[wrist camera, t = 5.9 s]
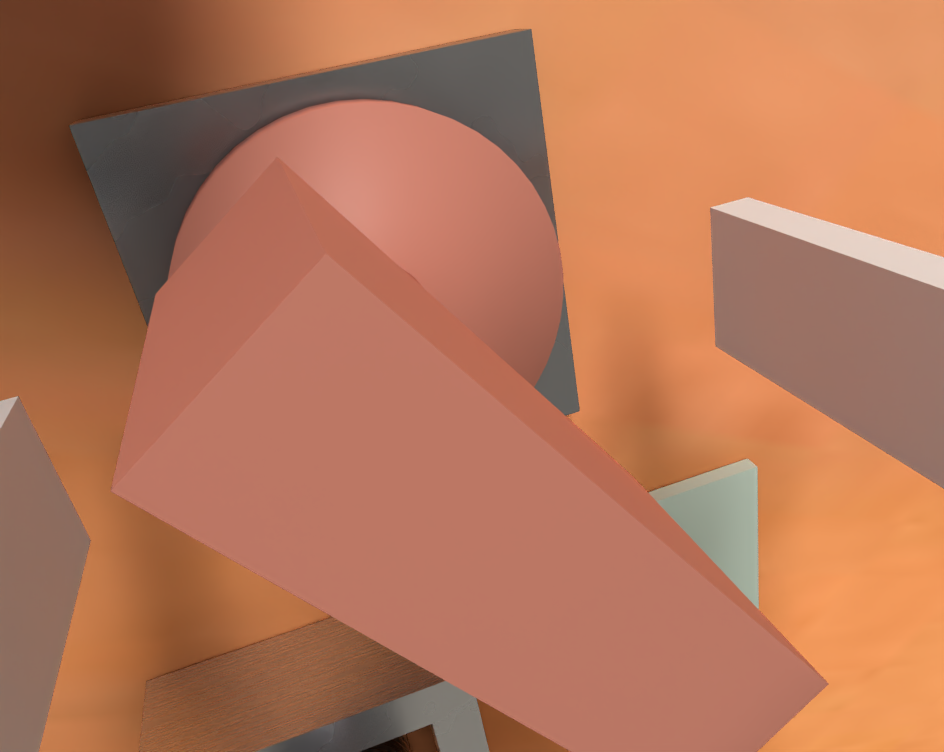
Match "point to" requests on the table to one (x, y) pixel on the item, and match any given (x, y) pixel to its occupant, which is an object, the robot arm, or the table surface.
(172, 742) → the block
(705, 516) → the mat
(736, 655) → the pink block-head stand
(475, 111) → the wheel base
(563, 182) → the table surface
